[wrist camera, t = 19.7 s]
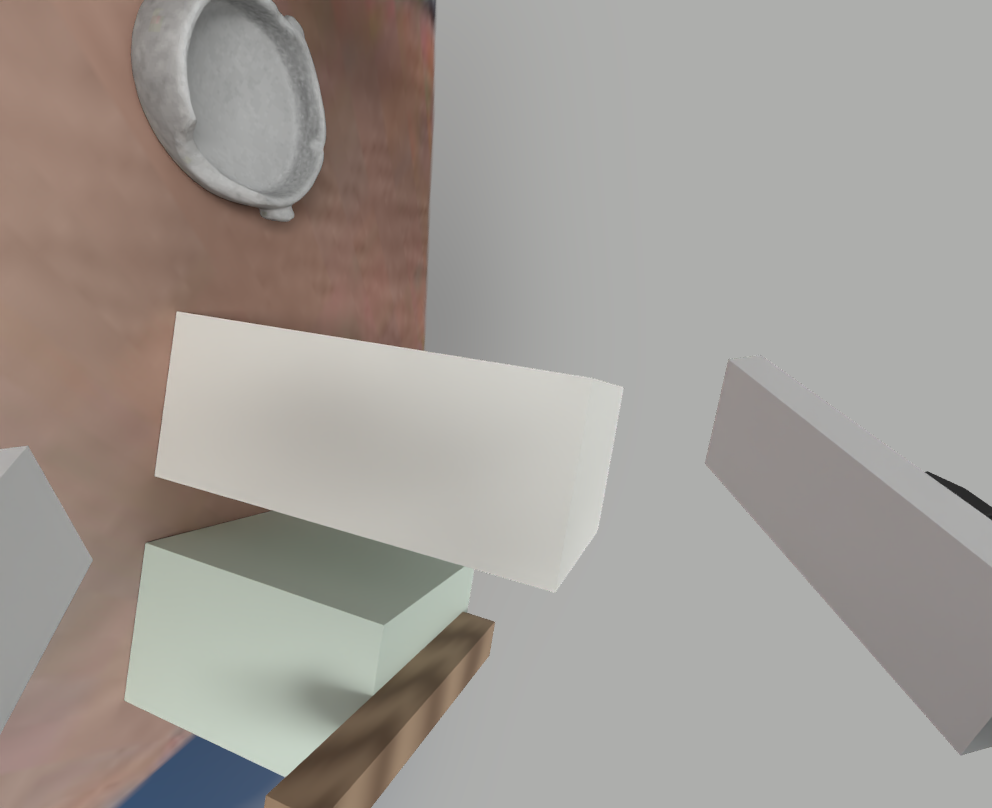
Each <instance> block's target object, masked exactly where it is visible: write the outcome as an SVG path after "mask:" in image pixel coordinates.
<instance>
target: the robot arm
mask: <svg viewBox="0 0 992 808" xmlns="http://www.w3.org/2000/svg"><path fill="white" fill-rule="evenodd" d="M705 464H706V465H707V466H708V468H709V469H710V470H711V471H712V472H713V473H714V474H715V476H716V477H717V478H718V479H719V480H720V481H721V482H722V484H723V485H724V486H725V487H726V488H727V489H728V490H729V492H730V493H731V494H732V495H733V496H734V497H735V498H736V500H737V501H738V502H739V503H740V504H741V505H742V506H743V508H744V509H745V510H746V511H747V512H748V513H749V514H750V516H751V517H752V518H753V519H754V520H755V521H756V522H757V524H758V525H759V526H760V527H761V528H762V529H763V530H764V532H765V533H766V534H767V535H768V536H769V537H770V538H771V540H772V541H773V542H774V543H775V544H776V545H777V546H778V548H779V549H780V550H781V551H782V552H783V553H784V554H785V556H786V557H787V558H788V559H789V560H790V561H791V562H792V564H793V565H794V566H795V567H796V568H797V569H798V570H799V572H801V574H802V575H803V576H804V577H805V578H806V580H807V581H808V582H809V583H810V584H811V585H812V586H813V588H814V589H815V590H816V591H817V592H818V593H819V594H820V596H821V597H822V598H823V599H824V600H825V601H826V602H827V604H828V605H829V606H830V607H831V608H832V609H833V610H834V612H835V613H836V614H837V615H838V616H839V617H840V618H841V620H842V621H843V622H844V623H845V624H846V625H847V626H848V628H849V629H850V630H851V631H852V632H853V633H854V634H855V636H856V637H857V638H858V639H859V640H860V641H861V642H862V643H863V645H864V646H865V647H866V648H867V649H868V650H869V652H870V653H871V654H872V655H873V656H874V657H875V658H876V659H877V661H878V662H879V663H880V664H881V665H882V666H883V667H884V669H885V670H886V671H887V672H888V673H889V674H890V675H891V677H892V678H893V679H894V680H895V681H896V682H897V683H898V685H899V686H900V687H901V688H902V689H903V690H904V691H905V693H906V694H907V695H908V696H909V697H910V698H911V699H912V700H913V702H914V703H915V704H916V705H917V706H918V707H919V708H920V709H921V711H922V712H923V713H924V714H925V715H926V717H927V718H928V719H929V720H930V721H931V722H932V723H933V725H934V726H935V727H936V728H937V729H938V730H939V731H940V733H941V734H942V735H943V736H944V737H945V738H946V739H947V741H948V742H949V743H950V744H951V745H952V746H953V747H954V749H955V750H956V751H957V752H958V753H959V754H960V755H964V754H967V753H971V752H974V751H978V750H981V749H985V748H989V747H992V507H991V506H989V505H988V504H986V503H985V502H984V501H982V500H981V499H979V498H978V497H976V496H975V495H974V494H972V493H971V492H969V491H968V490H966V489H965V488H963V487H960V486H958V485H956V484H954V483H952V482H950V481H947V480H945V479H943V478H941V477H939V476H937V475H934V474H932V473H930V472H924V471H922V470H921V469H919V468H918V467H917V466H915V465H914V464H912V463H911V462H910V461H908V460H907V459H905V458H904V457H902V456H901V455H900V454H898V453H897V452H896V451H894V450H893V449H891V448H890V447H888V446H887V445H886V444H885V443H883V442H882V441H880V440H879V439H878V438H876V437H875V436H873V435H872V434H870V433H869V432H868V431H866V430H865V429H864V428H862V427H861V426H859V425H858V424H857V423H855V422H854V421H852V420H851V419H850V418H848V417H847V416H845V415H844V414H843V413H841V412H840V411H838V410H837V409H836V408H834V407H833V406H831V405H830V404H829V403H827V402H826V401H824V400H823V399H822V398H820V397H819V396H817V395H816V394H815V393H813V392H812V391H811V390H809V389H808V388H806V387H805V386H804V385H802V384H801V383H799V382H798V381H797V380H795V379H793V378H792V377H791V376H789V375H788V374H787V373H785V372H784V371H783V370H781V369H780V368H778V367H777V366H776V365H774V364H773V363H771V362H770V361H769V360H767V359H766V358H764V357H763V356H762V355H758V356H750V357H743V358H734V359H728V363H727V368H726V372H725V377H724V381H723V386H722V390H721V394H720V399H719V403H718V408H717V412H716V416H715V421H714V426H713V430H712V434H711V439H710V443H709V448H708V452H707V456H706V461H705ZM92 561H93V559H92V558H91V556H90V554H89V552H88V551H87V549H86V547H85V545H84V544H83V542H82V540H81V538H80V537H79V535H78V533H77V531H76V530H75V528H74V526H73V524H72V522H71V521H70V519H69V517H68V515H67V514H66V512H65V510H64V508H63V507H62V505H61V503H60V501H59V500H58V498H57V496H56V494H55V493H54V491H53V489H52V487H51V486H50V484H49V482H48V480H47V479H46V477H45V475H44V473H43V471H42V470H41V468H40V466H39V464H38V463H37V461H36V459H35V457H34V456H33V454H32V452H31V450H30V449H29V447H28V446H22V447H14V448H6V449H0V734H1V732H2V730H3V728H4V726H5V724H6V723H7V721H8V719H9V717H10V715H11V713H12V711H13V709H14V707H15V706H16V704H17V702H18V700H19V698H20V696H21V694H22V692H23V691H24V689H25V687H26V685H27V683H28V681H29V679H30V677H31V675H32V674H33V672H34V670H35V668H36V666H37V664H38V662H39V660H40V659H41V657H42V655H43V653H44V651H45V649H46V647H47V645H48V643H49V642H50V640H51V638H52V636H53V634H54V632H55V630H56V628H57V627H58V625H59V623H60V621H61V619H62V617H63V615H64V613H65V611H66V610H67V608H68V606H69V604H70V602H71V600H72V598H73V596H74V595H75V593H76V591H77V589H78V587H79V585H80V583H81V581H82V579H83V578H84V576H85V574H86V572H87V570H88V568H89V566H90V564H91V563H92Z"/></svg>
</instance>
